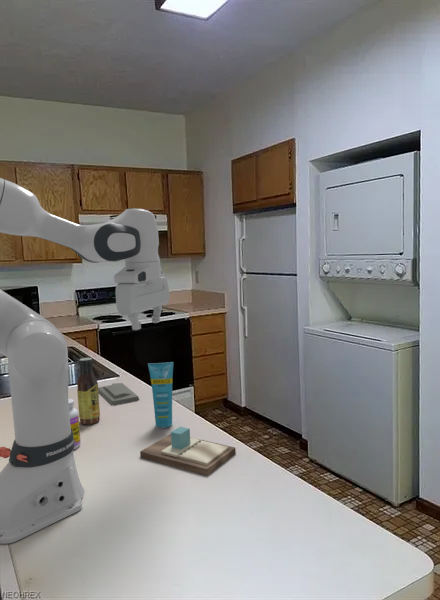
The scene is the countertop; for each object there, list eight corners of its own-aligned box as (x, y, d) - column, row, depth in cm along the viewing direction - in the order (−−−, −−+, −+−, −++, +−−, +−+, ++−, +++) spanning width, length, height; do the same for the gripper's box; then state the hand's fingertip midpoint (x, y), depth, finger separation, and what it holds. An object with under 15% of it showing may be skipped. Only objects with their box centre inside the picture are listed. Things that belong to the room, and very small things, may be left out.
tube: (151, 429, 136) (147, 365, 134) (151, 423, 141) (148, 361, 139) (177, 427, 137) (173, 363, 135) (176, 420, 142) (173, 359, 140)
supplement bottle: (73, 453, 122) (69, 406, 121) (50, 452, 124) (46, 405, 122) (85, 442, 129) (81, 397, 127) (63, 441, 130) (59, 397, 129)
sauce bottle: (97, 425, 141) (92, 361, 139) (76, 426, 141) (71, 362, 139) (103, 417, 148) (98, 356, 145) (83, 418, 148) (78, 357, 146)
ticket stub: (177, 457, 114) (176, 439, 113) (161, 453, 116) (160, 435, 116) (200, 442, 122) (199, 425, 122) (185, 438, 125) (184, 422, 124)
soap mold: (123, 387, 181) (122, 379, 180) (140, 401, 163) (139, 392, 163) (97, 392, 176) (96, 383, 175) (111, 407, 158) (110, 397, 158)
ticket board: (207, 475, 107) (206, 466, 107) (140, 457, 118) (139, 448, 118) (235, 453, 118) (235, 444, 118) (172, 438, 129) (171, 430, 129)
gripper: (153, 269, 130) (156, 318, 132) (109, 276, 111) (113, 333, 113) (173, 269, 127) (176, 319, 129) (131, 276, 109) (135, 334, 111)
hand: (146, 325), depth 121 cm, fingers open, 8 cm apart
